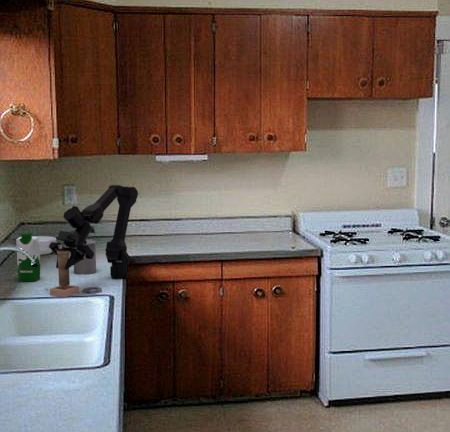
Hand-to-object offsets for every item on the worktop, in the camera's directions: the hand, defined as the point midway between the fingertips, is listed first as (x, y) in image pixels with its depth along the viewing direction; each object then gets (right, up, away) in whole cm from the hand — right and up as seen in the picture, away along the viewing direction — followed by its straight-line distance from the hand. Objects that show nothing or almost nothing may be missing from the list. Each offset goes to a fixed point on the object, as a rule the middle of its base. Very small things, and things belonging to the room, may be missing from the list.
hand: (61, 268), depth 246 cm
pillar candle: (0, -5, +42) cm, 42 cm away
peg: (+1, -6, +2) cm, 7 cm away
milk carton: (-20, -7, +27) cm, 35 cm away
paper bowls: (-33, 0, +89) cm, 95 cm away
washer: (+10, -9, +7) cm, 16 cm away
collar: (+1, -10, +2) cm, 10 cm away
